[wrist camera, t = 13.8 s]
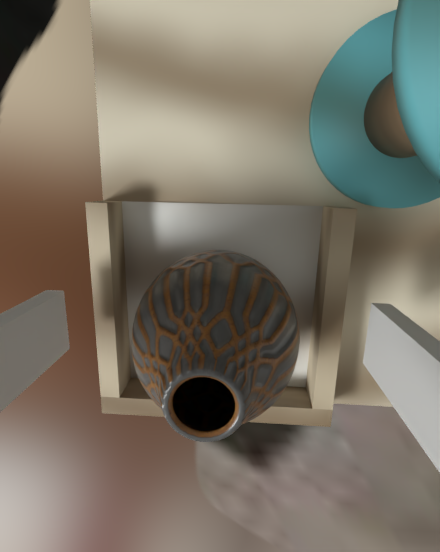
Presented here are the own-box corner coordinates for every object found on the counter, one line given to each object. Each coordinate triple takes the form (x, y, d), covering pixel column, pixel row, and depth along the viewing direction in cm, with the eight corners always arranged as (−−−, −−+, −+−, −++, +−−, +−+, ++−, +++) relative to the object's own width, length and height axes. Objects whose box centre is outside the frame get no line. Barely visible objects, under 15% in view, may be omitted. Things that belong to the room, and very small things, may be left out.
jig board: (98, 3, 16) (-177, -356, 5) (499, -1, 15) (1110, -453, 4) (121, 381, 21) (3, 571, 10) (420, 397, 20) (616, 626, 9)
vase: (214, 211, 17) (185, 233, 8) (314, 299, 17) (383, 403, 9) (132, 308, 18) (37, 411, 10) (227, 384, 19) (216, 542, 10)
